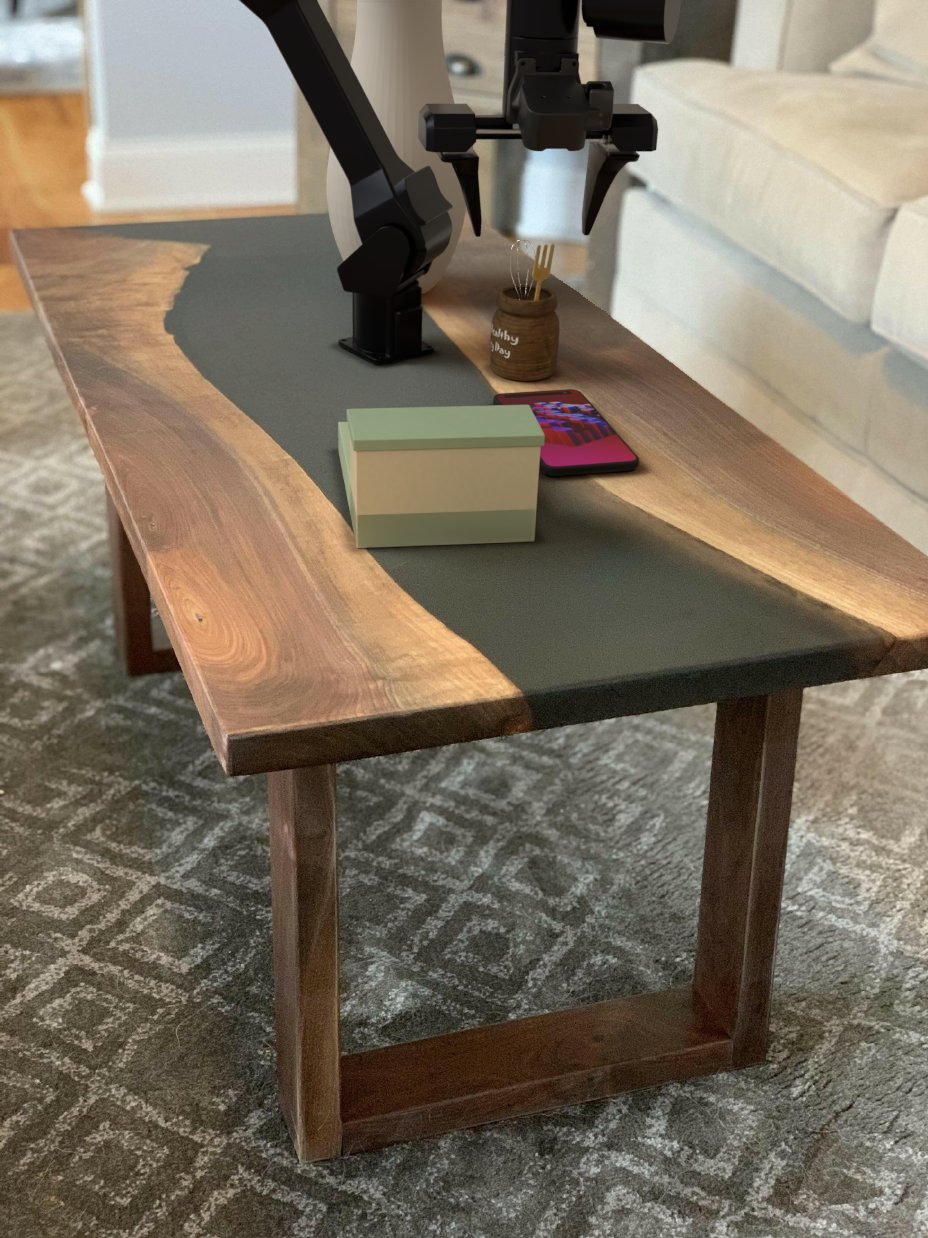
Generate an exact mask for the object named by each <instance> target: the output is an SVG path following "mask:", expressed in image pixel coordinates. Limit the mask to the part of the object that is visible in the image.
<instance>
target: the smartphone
mask: <svg viewBox="0 0 928 1238" xmlns="http://www.w3.org/2000/svg"><path fill="white" fill-rule="evenodd" d="M492 399H493V400H492V403H493V404H492V406H495V405H529V406H530V408H531V410H532V411H533V413H534V415H535V417H536V419H537V421H538V423H539V425H540V427H541V429H542V431H543V433H544V435H545V442H544V446H541V448H540V463H539V470H540V471H541V472H542V473H543V474H544V475H547V476H550V477H561V476H573V475H574V476H575V475H584V474H585V475H586V474H587V475H588V474H600V473H601V474H602V473H612V472H627V471H635V470H636V469H638V468H639V465H640V464H639V463H640V457H639V456H638V455H637V454H636V453H635V451H634V450H633V449H632V448H631V447H630V446H629V445H628V443H626V441H625V440H624V439H623V438H622V437H621V435H620V434H619V433H618V432H617V431H616V430H615V429H614V427H612V426H611V424H610V423H609V421H607V419H605V417H604V416H603V415H602V414H601V413H600V412H599V411H598V410H597V408H596V407H595V406H594V405H593V404H592V403H591V401H589V399H588V398H587V397H586V396H585V394H583V393H582V392H581V391H580V390H578V389H573V388H567V389H549V390H533V391H532V390H531V391H519V392H518V391H517V392H503V393H498V394H495V395H494V396H493V398H492Z"/></svg>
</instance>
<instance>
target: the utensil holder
mask: <svg viewBox="0 0 928 1238" xmlns="http://www.w3.org/2000/svg"><path fill="white" fill-rule="evenodd" d="M522 241H523V242H524V243H525V246H526V255H527V260H529V250H528V244H527V243H529V244H530V245H531V247H532V248H533V252H534V261H533V265H532V266H533V267H532V272H531V278H532V281H531V283H530V284H528V282H529V281H528V280H529V270H527V273H526V282H525V283H526V284H521V282H520V275H519V273H517V279H518V284H515V281H514V278H513V273H512V263H511V262H512V260H511V259H512V250H513V247H514V246H515V244H516V243H517V242H518V244H517V248H516V249H517V250H516V251H517V252H516V255H517V257H516V260H517V262H516V263H517V264H516V265H517V266H516V267H517V269H519V247H520V243H521V242H522ZM548 247H549V245H548V243H547V244H546V243H545V244H544V245H543V249H541V248H542V245H541V244H537V246H536V249H535V247H534V245H533V243H532V242H531V241H530V240H527V239H517V240H516V241H515V242H513V244H512V245H511V247H510V252H509V266H510V267H509V269H510V276H511V280H512V283H513V285H507V286H503V287H501V288H499V290H498V293H497V296H496V299H495V300H496V301H495V304H496V306H497V309H496V310H495V311H494V313H493V316H492V320H491V327H490V345H489V347H490V348H489V364H490V369H491V370H492V372H493V373H494V374H495V375H497V376H499V377H501V378H503V379H507V380H511V381H517V382H518V381H519V382H535V381H542V380H546V379H548V378H550V377H551V376H553V375H554V373H555V371H556V369H557V365H558V358H559V357H558V356H559V346H560V345H559V344H560V319H559V316H558V314H557V312H556V310H557V308H558V296H557V293H556V292H555V290H553V289H550V288H549V287H545V286H542V283H543V281H545V280H548V279H549V277H550V275H551V269H552V264H553V258H554V251H555V243H551V244H550V248H549V252H548ZM541 250H542V253H541ZM547 253H548V254H547ZM540 254H541V260H540ZM547 255H548V258H547ZM546 260H547V262H546ZM539 261H540V265H539ZM545 265H546V266H545ZM538 267H539V268H538ZM534 281H536V285H535V284H533V283H534Z"/></svg>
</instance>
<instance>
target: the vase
mask: <svg viewBox="0 0 928 1238" xmlns="http://www.w3.org/2000/svg"><path fill="white" fill-rule="evenodd" d="M442 9H443V0H356V25H355V27H356V28H355V36H354V42H353V43H354V44H353V49H352V55H351V60H350V65H351V67H352V69H353V71H354V73H355V74H356V76H357V78H358V80H359V82H360V84H361V86H362V88H363V90H364V92H365V94H366V96H367V98H368V100H369V102H370V103H371V105H372V107H373V109H374V111H375V113H376V115H377V117H378V119H379V121H380V123H381V125H382V127H383V129H384V131H385V132H386V134H387V136H388V138H389V140H390V142H391V144H392V146H393V148H394V150H395V152H396V153H397V155H398V156H399V158H400V159H401V160H402V161H403V162H404V163H406V164H407V165H408V166H409V167H410V168H411V169H412V170H414V171H415V172H416V171H418V170H420V169H422V168H424V167H426V166H430V167H431V169H432V171H433V172H434V175H435V177H436V180H437V183H438V186H439V189H440V191H441V193H442V194H443V196H444V197H445V199H446V200H447V201H448V202H449V203H451V204H452V206H453V207H452V209H450V210H448V211H447V212H448V213H449V216H450V219H451V222H452V229H453V231H452V233H451V237H450V241H449V244H448V246H447V248H446V249H445V251H444V252H443V253H442V254H440V255H439V256H438V257H437V258H435V259H434V260H433V261H432V264H431V267H430V269H429V272H428V273H427V274H425V275H422V276H421V277H419V278H418V279H417V280H418V282H419V287H421V288H422V295H423V294H426V293H427V292H430V290H432V289H433V288H435V286H437V284H438V282H439V281H440V280H441V279H442V277H443V276H444V274H445V272H446V271H447V268H448V267H449V265H450V263H451V261H452V258H453V256H454V254H455V251H456V250H457V246H458V243H459V240H460V238H461V234H462V231H463V226H464V222H465V218H466V212H467V207H466V204H465V200H464V197H463V193H462V190H461V187H460V184H459V181H458V178H457V176H456V173H455V171H454V169H453V166H452V164H451V163H446V162H442V161H441V160H440V158H439V156H438V155H437V153H436V152H429V151H426V150H425V149H424V147H423V145H422V144H421V142H420V140H419V139H418V117H419V111H420V110H421V109H422V108H423V106H424V105H425V104H456V103H455V100H454V95H453V91H452V86H451V81H450V77H449V72H448V67H447V60H446V55H445V47H444V38H443V37H444V36H443V21H442V20H443V19H442V18H443V17H442V13H443V12H442V11H443V10H442ZM327 159H328V161H327V167H326V168H327V169H326V201H327V209H328V215H329V216H328V217H329V223H330V226H331V230H332V235H333V237H334V240H335V243H336V246H337V249H338V252H339V254H340V256H341V259H342V262H344V261H345V260H346V259H347V258H348V257H349V256H350V255H351V254H352V253H353V252H354V251H355V250H356V249H358V248H359V247H360V246H361V245H362V243H361V240H360V237H359V234H358V231H357V228H356V226H355V223H354V218H353V208H352V198H351V189H350V184H349V182H348V179H347V177H346V175H345V173H344V171H343V170H342V168H341V166H340V164H339V162H338V160H337V158H336V156H335V154H334V153H333V151H332V149H331V147H330V146H329V151H328V158H327Z"/></svg>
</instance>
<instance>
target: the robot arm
mask: <svg viewBox="0 0 928 1238" xmlns="http://www.w3.org/2000/svg"><path fill="white" fill-rule="evenodd" d="M238 1H239V2H240V3H241V4H242V5H243V6H244V7H246V8H247V9H248V10H249V11H250V12H251V13H252V14H253V15H255V16H256V17H257V18H258V19H259V20H260V21H261V22H263V24H264V26H265V27H266V28H267V30H268V32H269V34H270V35H271V38H272V39H273V41H274V43H275V45H276V47H277V49H278V51H279V52H280V54H281V56H282V58H283V60H284V62H285V65H286V66H287V68H288V70H289V71H290V74H291V75H292V77H293V79H294V81H295V83H296V85H297V86H298V88H299V90H300V93H301V94H302V97H303V98H304V100H305V101H306V103H307V106H308V107H309V109H310V111H311V113H312V115H313V117H314V119H315V120H316V123H317V125H318V126H319V128H320V131H321V132H322V134H323V135H324V137H325V139H326V142H327V143H328V145H329V148H330V147H331V149H332V151H333V153H334V154H335V156H336V158H337V160H338V162H339V164H340V166H341V168H342V170H343V171H344V173H345V175H346V177H347V179H348V182H349V184H350V189H351V198H352V208H353V218H354V223H355V226H356V228H357V231H358V234H359V237H360V240H361V243H362V245H361V246H360V247H359V248H358V249H356V250H355V251H354V252H353V253H352V254H351V255H350V256H349V257H348V258H347V259H346V260H345V261H342V263H340V264H339V265H337V267H336V268H337V269H336V272H337V275H338V278H339V281H340V283H341V287H342V290H343V291H344V292H346V293H352V294H351V295H352V297H351V298H352V302H351V303H352V310H351V311H352V313H351V315H352V316H351V317H352V319H351V320H352V336H349V337H348V336H347V337H343V338H339V339H338V341H337V343H338V346H339V347H341V348H342V349H344V350H346V351H349V352H351V353H353V354H355V355H357V356H358V357H360V358H363V359H364V360H365V361H369V362H370V363H372V364H374V365H383V364H389V363H392V362H397V361H401V360H407V359H410V358H415V357H421V356H425V355H429V354H434V353H435V346H434V345H432V344H430V343H428V342H426V341H424V340H423V321H424V320H423V318H424V317H423V315H424V308H423V306H422V304H423V303H422V301H423V300H422V297H423V294H422V288H421V287H419V282H418V280H417V279H418V278H419V277H421V276H422V275H425V274H427V273H428V272H429V269H430V267H431V264H432V261H433V260H434V259H435V258H437V257H438V256H439V255H440V254H442V253H443V252H444V251H445V249H446V248H447V246H448V244H449V241H450V237H451V233H452V231H453V229H452V222H451V219H450V216H449V213H448V212H447V211H448V210H450V209H452V207H453V206H452V204H451V203H449V202H448V201H447V200H446V199H445V197H444V196H443V194H442V193H441V191H440V189H439V186H438V183H437V180H436V177H435V175H434V172H433V171H432V169H431V167H430V166H426V167H424V168H422V169H420V170H418V171H416V172H415V171H414V170H412V169H411V168H410V167H409V166H408V165H407V164H406V163H404V162H403V161H402V160H401V159H400V158H399V156H398V155H397V153H396V152H395V150H394V148H393V146H392V144H391V142H390V140H389V138H388V136H387V134H386V132H385V131H384V129H383V127H382V125H381V123H380V121H379V119H378V117H377V115H376V113H375V111H374V109H373V107H372V105H371V103H370V102H369V100H368V98H367V96H366V94H365V92H364V90H363V88H362V86H361V84H360V82H359V80H358V78H357V76H356V74H355V73H354V71H353V69H352V67H351V65H350V64H351V62H350V61H349V58H348V57H347V56H346V53H345V52H344V49H343V47H342V45H341V44H340V41H339V40H338V38H337V36H336V34H335V32H334V30H333V28H332V26H331V24H330V23H329V20H328V19H327V17H326V14H325V13H324V11H323V9H322V7H321V5H320V3H319V1H318V0H238ZM681 5H682V0H506V7H505V9H506V10H505V35H504V48H503V49H504V51H503V52H504V54H503V55H504V60H503V61H504V62H503V87H502V100H501V101H502V104H501V106H502V107H501V110H502V111H501V114H476V113H475V111H474V110H473V109H472V107H470V106H469V105H468V103H455V104H425V105H424V106H423V108H422V109H421V110H420V111H419V117H418V139H419V140H420V142H421V144H422V145H423V147H424V149H425V150H426V151H429V152H436V153H437V155H438V156H439V158H440V160H441V161H442V162H446V163H451V164H452V166H453V169H454V171H455V173H456V176H457V178H458V181H459V184H460V187H461V190H462V193H463V197H464V200H465V204H466V211H467V214H468V217H469V221H470V225H471V228H472V231H473V234H474V236H475V237H476V238H480V237H481V236H482V224H483V221H482V220H483V218H482V205H481V204H482V203H481V193H480V192H481V191H480V178H479V169H480V168H479V167H480V156H479V155H478V153H477V152H476V151H475V149H474V145H475V144H476V143H477V140H521V143H522V145H523V147H524V148H526V149H527V150H530V151H532V152H544V151H545V150H567V151H568V152H579V151H581V150H582V149H584V148H585V145H586V140H590V141H589V146H588V155H587V162H586V172H585V182H584V188H583V189H584V190H583V191H584V192H583V199H582V209H581V233H582V234H583V236H590V234H591V232H592V230H593V227H594V226H595V222H596V219H597V217H598V215H599V213H600V210H601V208H602V206H603V204H604V201H605V198H606V196H607V194H608V192H609V189H610V188H611V186H612V185H613V182H614V180H615V179H616V177H617V175H618V174H619V172H621V171H622V169H623V168H625V166H626V165H627V164H628V163H636V162H638V161H639V159H640V156H641V155H640V154H639V153H641V152H647V153H649V152H655V151H657V149H658V148H657V145H658V137H659V136H658V135H659V125H658V120H657V118H656V117H655V116H654V115H653V113H651V112H650V111H649V110H647V109H646V108H644V107H643V106H641V104H639V103H614V99H615V98H614V97H615V89H614V86H613V83H612V82H611V81H610V80H589V81H587V82H586V83H582V80H581V76H580V61H579V59H580V53H578V50H579V49H578V47H579V32H580V31H579V29H580V16H581V17H582V20H583V21H582V22H584V24H585V26H586V28H592V30H593V34H594V36H595V38H596V39H599V40H611V41H626V42H637V43H638V42H639V43H649V44H650V43H651V44H664V45H665V44H666V45H670V44H671V43H672V41H673V40H674V37H675V35H676V32H677V28H678V23H679V18H680V13H681V8H682V7H681ZM580 14H581V15H580ZM514 125H518V127H517V126H515V127H514ZM591 140H596V141H591Z"/></svg>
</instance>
